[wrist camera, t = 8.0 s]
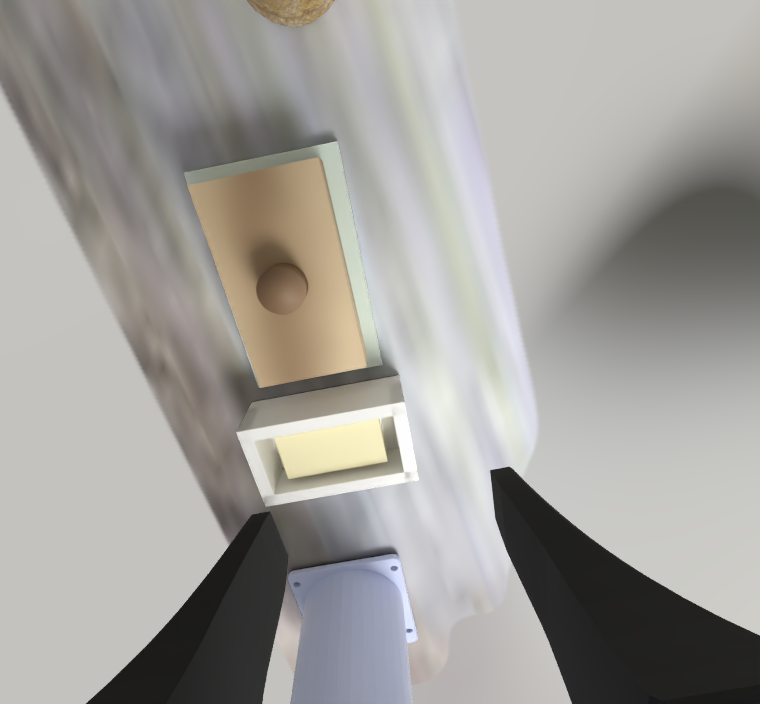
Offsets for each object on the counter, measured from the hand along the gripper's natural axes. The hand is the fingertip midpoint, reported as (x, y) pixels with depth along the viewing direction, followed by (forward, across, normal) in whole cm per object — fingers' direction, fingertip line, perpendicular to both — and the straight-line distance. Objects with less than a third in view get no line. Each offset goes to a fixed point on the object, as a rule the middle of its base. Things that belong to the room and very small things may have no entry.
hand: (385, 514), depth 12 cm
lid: (+10, +3, -6) cm, 12 cm away
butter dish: (+10, +3, +3) cm, 11 cm away
